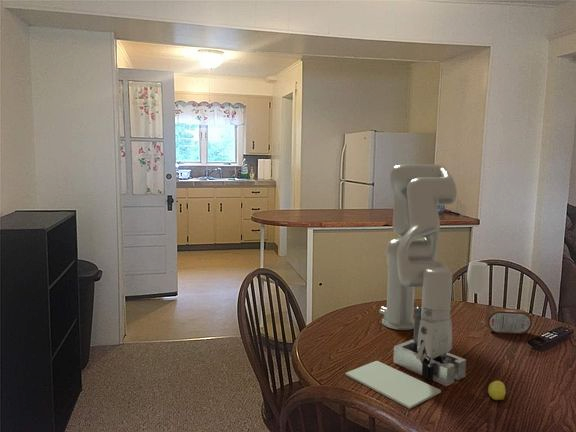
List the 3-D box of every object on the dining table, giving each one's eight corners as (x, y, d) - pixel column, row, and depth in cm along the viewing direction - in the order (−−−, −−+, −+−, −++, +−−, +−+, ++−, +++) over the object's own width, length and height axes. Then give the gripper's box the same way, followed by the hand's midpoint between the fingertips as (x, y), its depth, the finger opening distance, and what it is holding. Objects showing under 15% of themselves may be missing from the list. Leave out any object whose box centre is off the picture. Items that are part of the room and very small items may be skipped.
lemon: (507, 392, 123) (508, 378, 122) (503, 406, 116) (504, 392, 115) (490, 388, 125) (491, 374, 124) (485, 401, 118) (486, 387, 117)
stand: (405, 363, 139) (408, 306, 136) (415, 359, 141) (417, 303, 139) (418, 369, 135) (421, 310, 133) (427, 364, 138) (430, 307, 136)
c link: (393, 362, 140) (394, 346, 139) (412, 354, 145) (412, 339, 144) (446, 386, 125) (447, 368, 125) (465, 376, 131) (466, 359, 130)
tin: (528, 332, 164) (530, 308, 163) (532, 335, 161) (534, 312, 160) (484, 330, 166) (485, 307, 164) (486, 333, 163) (488, 310, 161)
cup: (484, 314, 182) (487, 262, 179) (485, 320, 175) (489, 266, 172) (464, 312, 184) (467, 260, 181) (464, 318, 177) (468, 264, 174)
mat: (345, 374, 132) (345, 372, 131) (376, 362, 139) (376, 360, 139) (409, 408, 114) (409, 406, 114) (440, 392, 122) (441, 390, 122)
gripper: (428, 323, 119) (425, 391, 122) (465, 310, 129) (461, 372, 132) (404, 315, 125) (402, 379, 128) (441, 303, 135) (438, 363, 138)
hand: (432, 375), depth 130 cm, fingers open, 3 cm apart
